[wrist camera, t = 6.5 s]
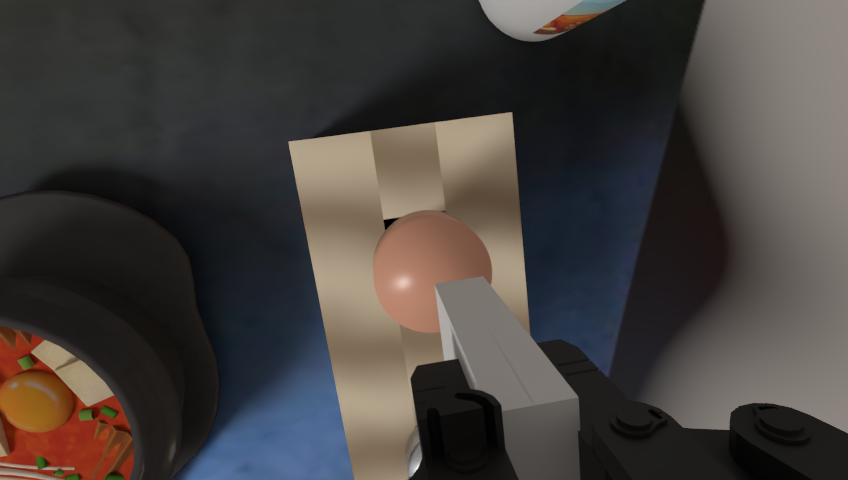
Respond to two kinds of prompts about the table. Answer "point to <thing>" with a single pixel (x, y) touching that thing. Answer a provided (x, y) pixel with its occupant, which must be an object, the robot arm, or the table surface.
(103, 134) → the table surface
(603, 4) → the milk bottle
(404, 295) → the terracotta plunger
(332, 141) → the board
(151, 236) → the casserole
